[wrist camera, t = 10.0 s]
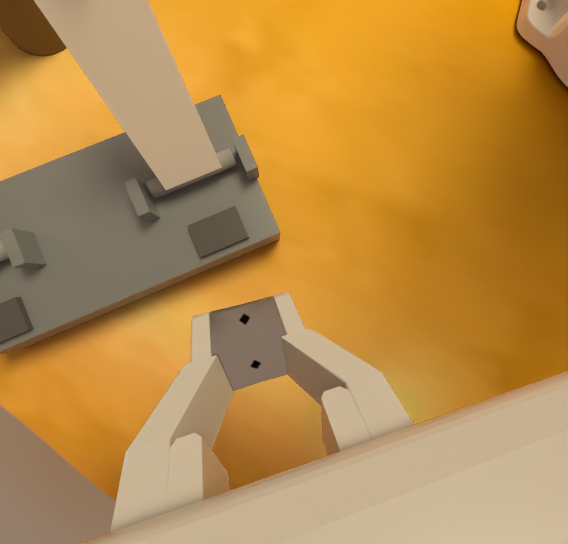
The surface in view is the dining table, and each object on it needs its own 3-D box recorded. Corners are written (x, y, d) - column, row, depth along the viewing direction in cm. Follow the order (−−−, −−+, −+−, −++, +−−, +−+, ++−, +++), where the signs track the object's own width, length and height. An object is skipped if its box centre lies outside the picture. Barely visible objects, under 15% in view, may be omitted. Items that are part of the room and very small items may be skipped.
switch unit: (281, 238, 22) (283, 226, 17) (-3, 359, 21) (-81, 380, 16) (230, 119, 22) (218, 76, 18) (-53, 231, 21) (-143, 217, 17)
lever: (241, 176, 18) (94, -207, 8) (158, 210, 18) (-114, -138, 7) (230, 153, 20) (100, -179, 9) (155, 184, 20) (-65, -123, 9)
